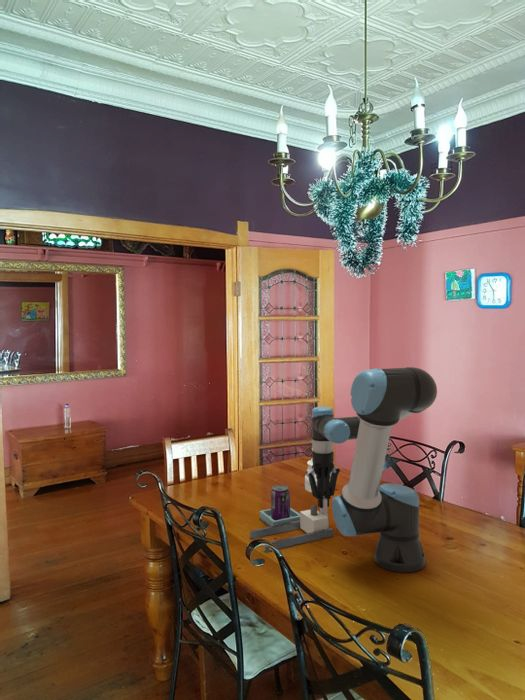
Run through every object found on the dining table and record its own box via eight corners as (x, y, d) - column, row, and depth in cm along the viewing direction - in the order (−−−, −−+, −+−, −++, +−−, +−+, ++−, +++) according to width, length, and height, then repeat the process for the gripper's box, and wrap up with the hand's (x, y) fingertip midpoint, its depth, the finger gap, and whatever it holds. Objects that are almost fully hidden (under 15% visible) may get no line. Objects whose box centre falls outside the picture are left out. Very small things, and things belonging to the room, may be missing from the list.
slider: (328, 534, 178) (328, 509, 177) (313, 537, 175) (313, 512, 175) (314, 524, 186) (314, 500, 186) (300, 527, 184) (299, 503, 183)
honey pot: (301, 491, 224) (300, 450, 223) (309, 482, 236) (309, 444, 234) (329, 494, 219) (329, 453, 218) (337, 485, 231) (336, 446, 230)
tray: (303, 523, 188) (302, 516, 188) (273, 530, 183) (273, 522, 183) (287, 513, 199) (287, 505, 199) (259, 518, 194) (259, 511, 194)
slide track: (333, 536, 177) (333, 529, 177) (265, 552, 166) (265, 544, 166) (314, 523, 188) (314, 517, 188) (250, 537, 177) (250, 530, 177)
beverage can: (288, 523, 187) (288, 491, 186) (269, 522, 188) (269, 490, 187) (291, 516, 194) (291, 485, 193) (273, 515, 195) (272, 484, 194)
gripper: (332, 446, 187) (333, 509, 189) (301, 450, 182) (302, 515, 183) (344, 450, 180) (345, 516, 182) (312, 455, 175) (313, 523, 176)
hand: (323, 516), depth 182 cm, fingers closed
